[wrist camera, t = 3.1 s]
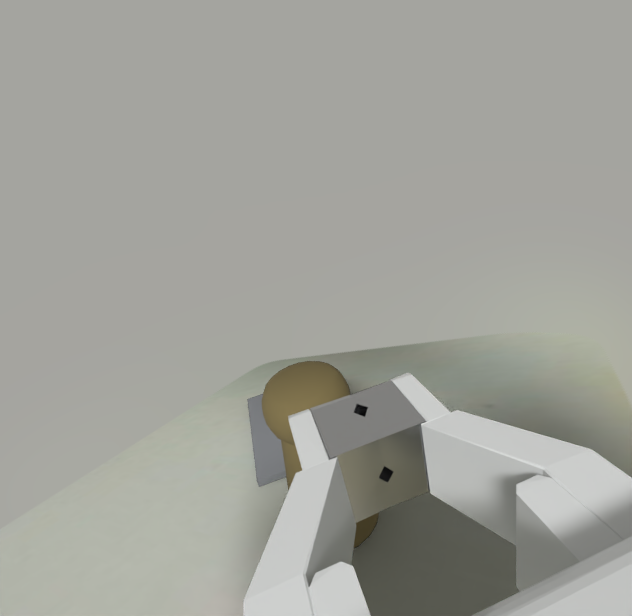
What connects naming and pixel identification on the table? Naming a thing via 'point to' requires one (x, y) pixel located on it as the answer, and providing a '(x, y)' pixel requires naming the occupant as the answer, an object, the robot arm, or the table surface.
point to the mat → (265, 445)
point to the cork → (298, 395)
